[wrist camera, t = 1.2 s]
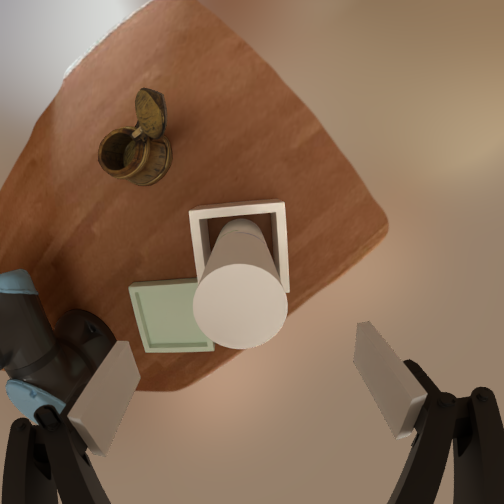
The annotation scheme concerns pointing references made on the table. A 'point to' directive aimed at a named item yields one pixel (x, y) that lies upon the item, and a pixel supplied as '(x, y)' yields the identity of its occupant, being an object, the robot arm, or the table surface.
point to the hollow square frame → (233, 209)
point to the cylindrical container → (240, 290)
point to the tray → (168, 316)
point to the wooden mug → (139, 143)
